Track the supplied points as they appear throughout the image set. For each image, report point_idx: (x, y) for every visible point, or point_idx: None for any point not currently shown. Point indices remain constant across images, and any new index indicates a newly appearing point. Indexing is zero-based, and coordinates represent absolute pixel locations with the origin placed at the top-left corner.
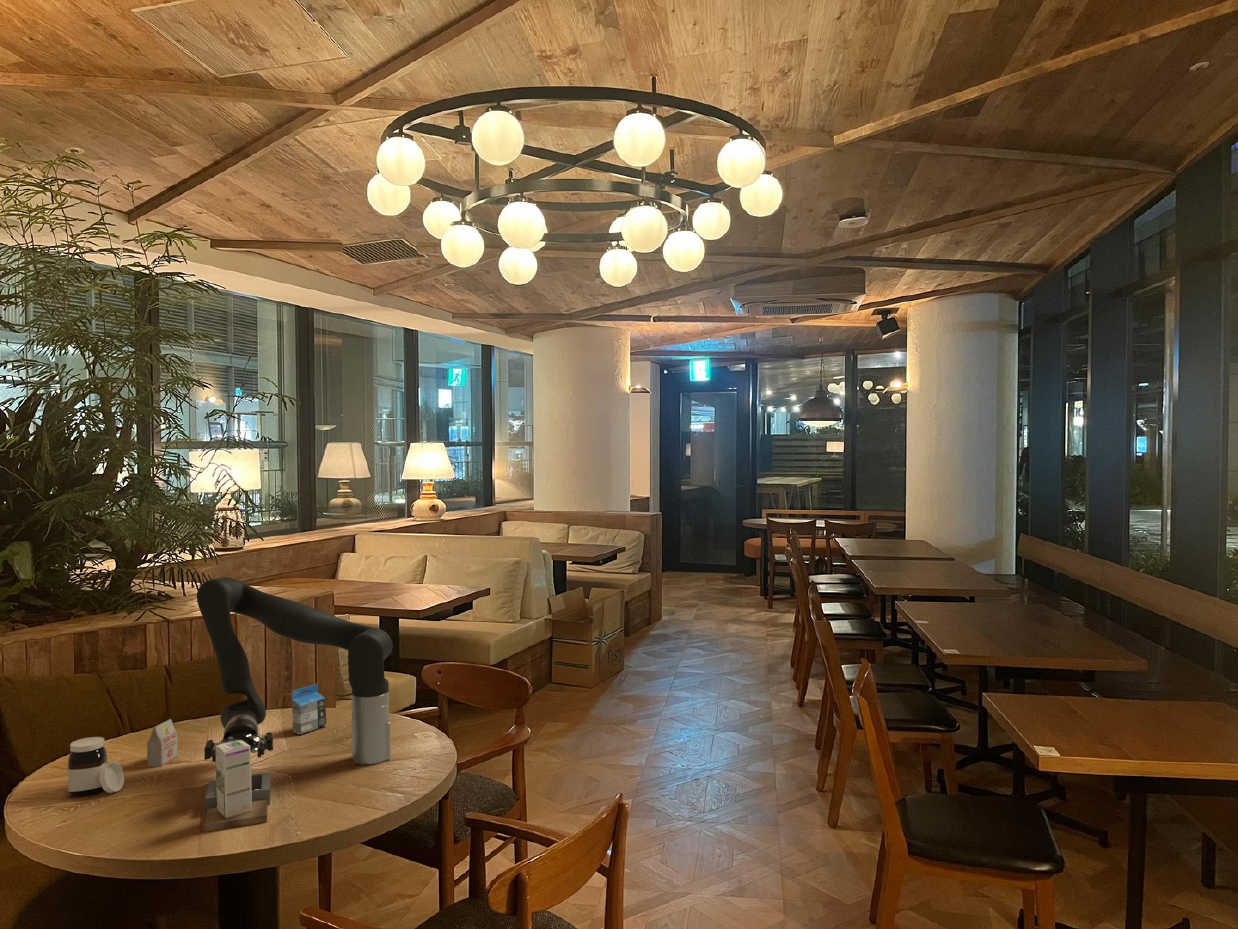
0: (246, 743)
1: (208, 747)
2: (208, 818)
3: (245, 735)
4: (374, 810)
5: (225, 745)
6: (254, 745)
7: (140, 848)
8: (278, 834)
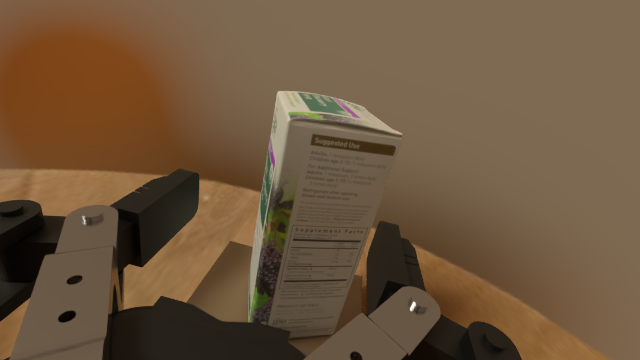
0: (283, 98)
1: (483, 334)
2: (354, 303)
3: (105, 346)
4: (40, 180)
5: (363, 116)
6: (118, 285)
7: (473, 299)
8: (236, 209)
